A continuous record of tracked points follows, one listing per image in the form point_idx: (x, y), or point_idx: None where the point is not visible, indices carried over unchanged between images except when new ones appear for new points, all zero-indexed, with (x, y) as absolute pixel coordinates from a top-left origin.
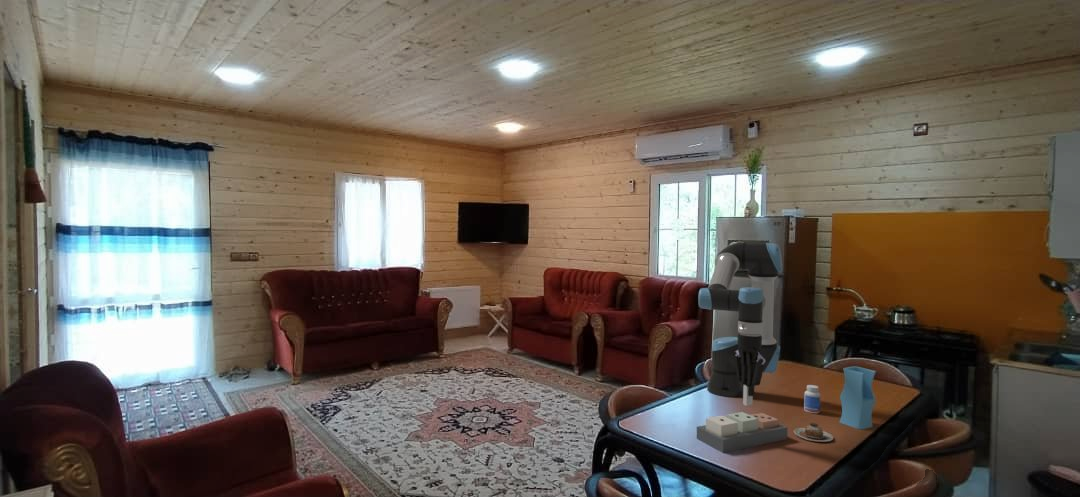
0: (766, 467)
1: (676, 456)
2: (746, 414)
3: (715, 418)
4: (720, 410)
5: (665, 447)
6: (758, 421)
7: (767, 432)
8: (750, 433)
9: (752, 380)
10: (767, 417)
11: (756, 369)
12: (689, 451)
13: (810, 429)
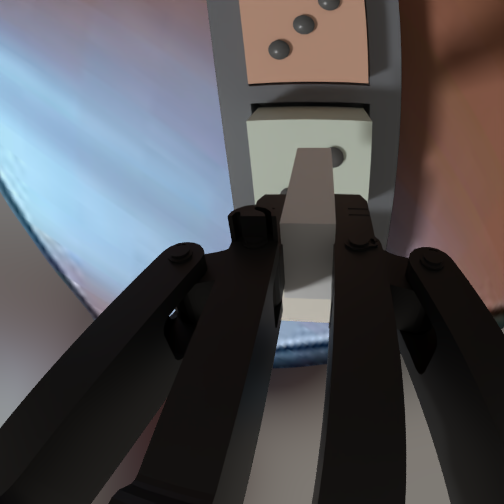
0: (490, 246)
1: (327, 362)
2: (291, 132)
3: (282, 296)
4: (46, 42)
5: (277, 354)
6: (369, 118)
7: (400, 91)
8: (385, 184)
9: (405, 360)
10: (321, 5)
11: (473, 499)
12: (320, 332)
13: None
